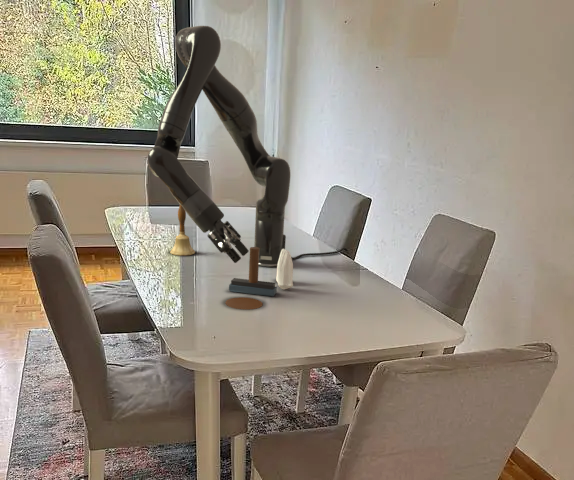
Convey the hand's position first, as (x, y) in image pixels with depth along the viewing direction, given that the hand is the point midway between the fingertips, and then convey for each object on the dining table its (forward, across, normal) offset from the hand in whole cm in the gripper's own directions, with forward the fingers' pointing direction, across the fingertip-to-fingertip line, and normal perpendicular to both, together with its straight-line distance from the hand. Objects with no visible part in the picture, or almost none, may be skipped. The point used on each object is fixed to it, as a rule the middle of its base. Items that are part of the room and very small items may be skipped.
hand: (242, 257), depth 175 cm
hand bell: (-14, +34, +28) cm, 46 cm away
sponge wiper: (+9, 0, +4) cm, 10 cm away
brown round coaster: (+9, -10, +5) cm, 14 cm away
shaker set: (+14, +10, 0) cm, 17 cm away
